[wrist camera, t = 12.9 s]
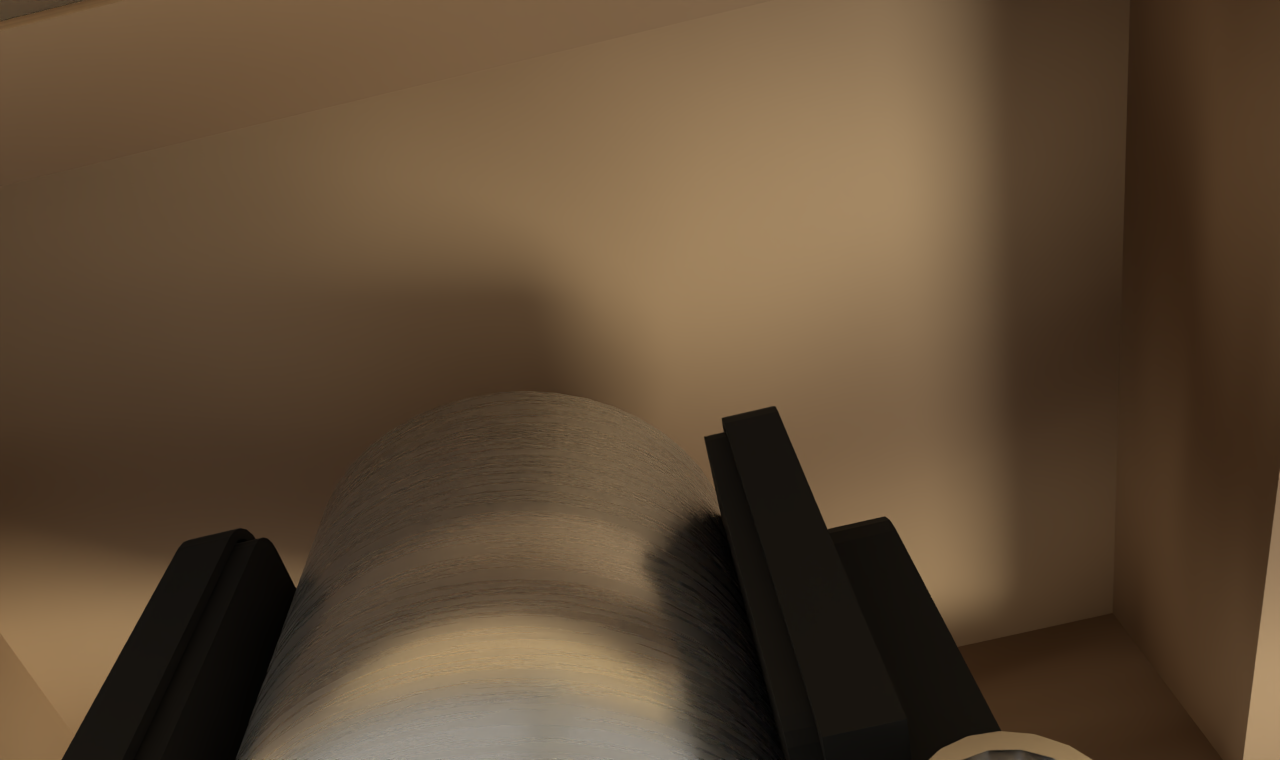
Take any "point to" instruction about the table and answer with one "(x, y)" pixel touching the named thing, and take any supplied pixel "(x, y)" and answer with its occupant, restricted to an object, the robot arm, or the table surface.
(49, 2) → the table surface
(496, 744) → the cell
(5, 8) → the table surface
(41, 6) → the table surface
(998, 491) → the trough
